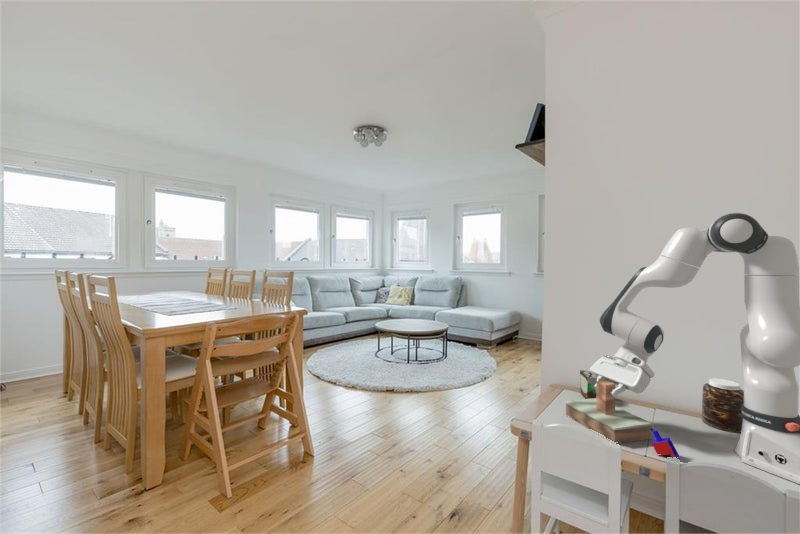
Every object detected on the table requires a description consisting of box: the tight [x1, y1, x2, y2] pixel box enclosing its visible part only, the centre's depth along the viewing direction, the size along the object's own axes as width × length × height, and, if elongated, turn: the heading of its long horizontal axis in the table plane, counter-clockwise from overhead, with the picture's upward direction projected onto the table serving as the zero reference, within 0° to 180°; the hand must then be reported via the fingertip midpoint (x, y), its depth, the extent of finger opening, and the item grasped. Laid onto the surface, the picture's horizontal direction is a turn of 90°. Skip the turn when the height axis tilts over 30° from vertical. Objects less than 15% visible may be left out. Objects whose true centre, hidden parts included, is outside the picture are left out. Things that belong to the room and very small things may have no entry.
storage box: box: [564, 398, 653, 444], centre depth 127 cm, size 23×15×5 cm, turn 14°
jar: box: [701, 377, 744, 434], centre depth 128 cm, size 12×12×15 cm
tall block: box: [596, 380, 616, 415], centre depth 126 cm, size 4×4×10 cm
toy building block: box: [651, 429, 680, 458], centre depth 108 cm, size 4×4×8 cm
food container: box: [579, 369, 597, 399], centre depth 152 cm, size 12×6×10 cm, turn 168°
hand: (604, 391), depth 126 cm, fingers open, 5 cm apart
